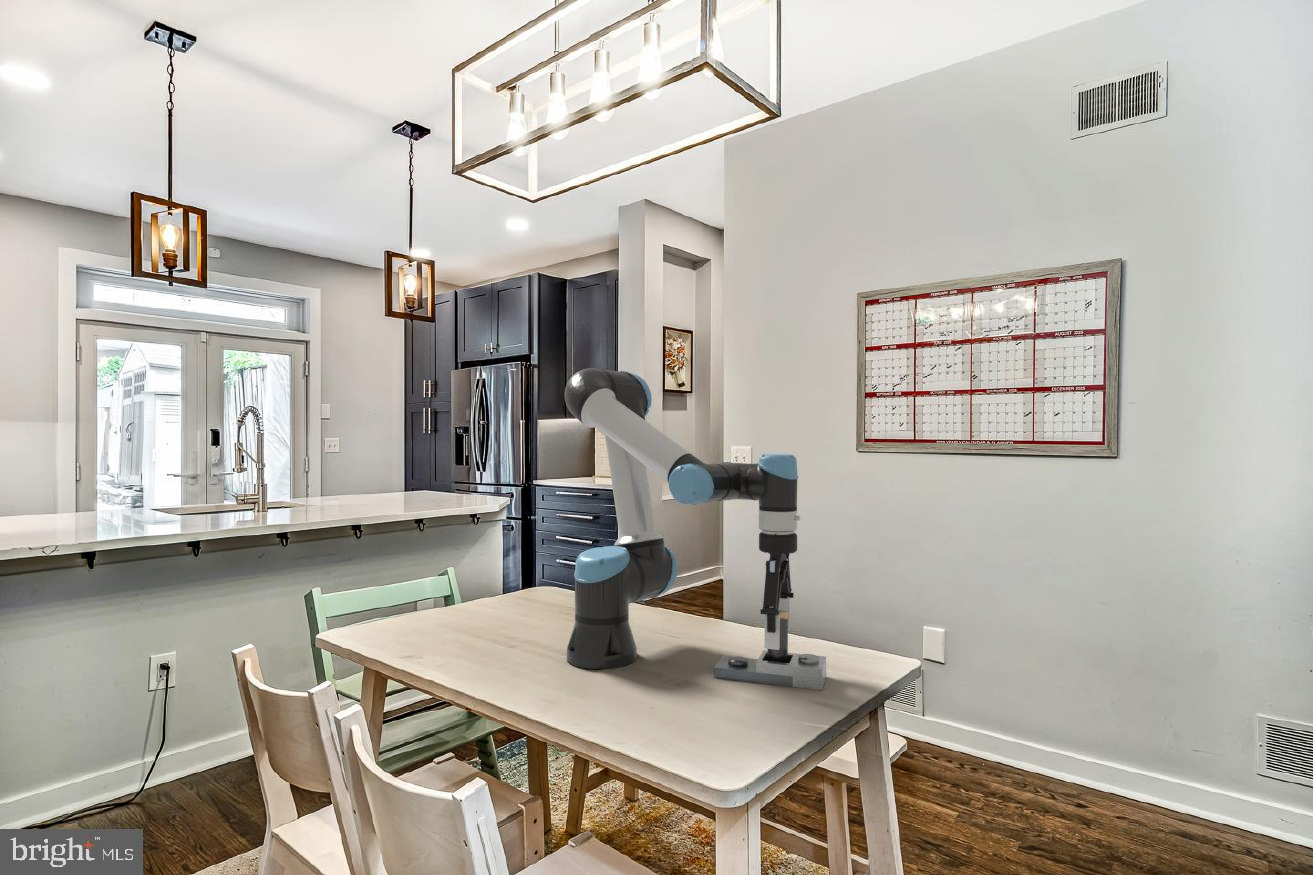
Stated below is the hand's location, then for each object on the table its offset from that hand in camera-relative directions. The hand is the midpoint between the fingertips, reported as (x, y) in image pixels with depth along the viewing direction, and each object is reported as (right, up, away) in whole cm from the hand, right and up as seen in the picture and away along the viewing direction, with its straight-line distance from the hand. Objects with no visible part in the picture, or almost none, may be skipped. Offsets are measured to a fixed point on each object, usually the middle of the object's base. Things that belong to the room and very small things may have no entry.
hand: (777, 638), depth 135 cm
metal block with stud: (-2, -8, +1) cm, 8 cm away
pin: (0, -8, 0) cm, 8 cm away
